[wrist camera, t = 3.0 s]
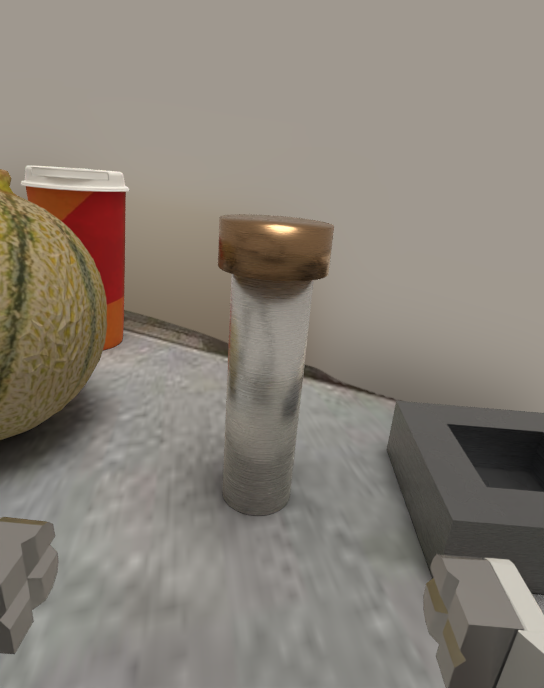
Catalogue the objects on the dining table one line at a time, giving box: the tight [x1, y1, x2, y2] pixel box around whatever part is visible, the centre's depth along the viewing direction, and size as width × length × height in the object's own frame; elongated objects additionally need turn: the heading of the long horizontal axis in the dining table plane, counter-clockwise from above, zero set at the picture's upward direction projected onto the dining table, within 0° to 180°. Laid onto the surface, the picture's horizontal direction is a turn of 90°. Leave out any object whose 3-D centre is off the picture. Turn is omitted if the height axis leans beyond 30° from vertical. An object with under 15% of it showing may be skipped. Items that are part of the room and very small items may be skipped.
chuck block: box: [387, 401, 544, 594], centre depth 23 cm, size 13×10×4 cm
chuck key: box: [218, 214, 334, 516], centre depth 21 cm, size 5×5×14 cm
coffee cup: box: [21, 166, 129, 350], centre depth 39 cm, size 8×8×15 cm
